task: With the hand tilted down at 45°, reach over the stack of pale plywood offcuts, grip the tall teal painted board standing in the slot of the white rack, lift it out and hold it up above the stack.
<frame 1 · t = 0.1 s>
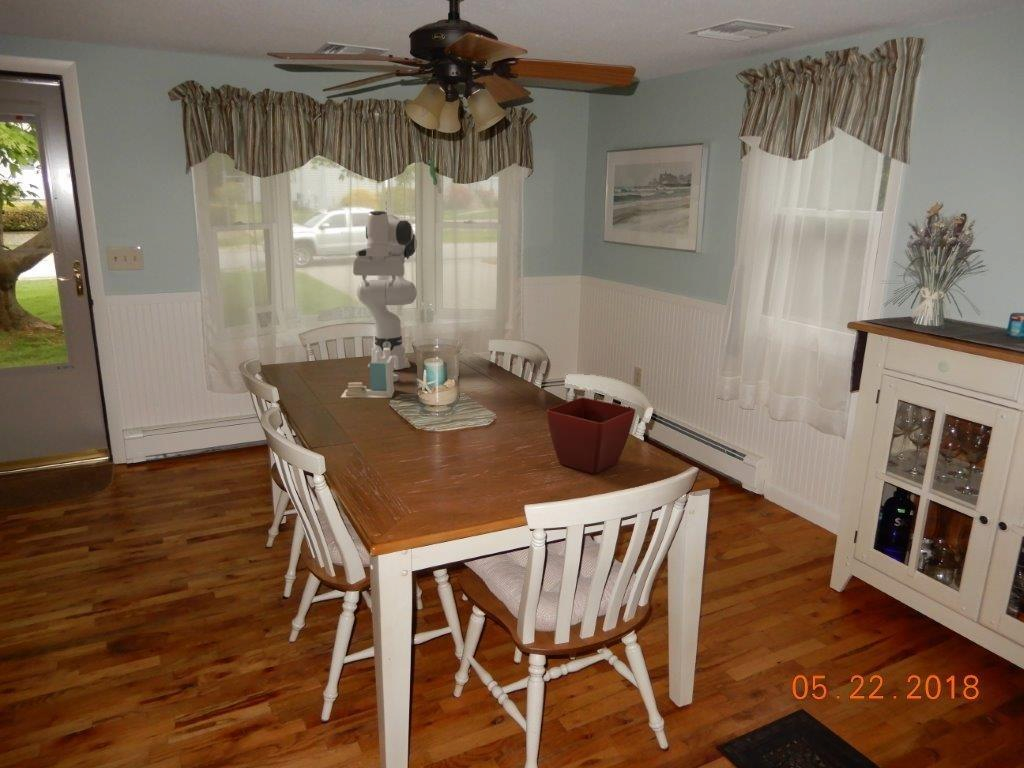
hand: (379, 287, 288), 39 cm above the table, tool pointing down, fingers open, 8 cm apart
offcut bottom: (356, 393, 273), point 1 cm above the table, touching offcut top, rack
plant pot: (588, 464, 211), on the table
offcut top: (355, 389, 272), point 3 cm above the table, touching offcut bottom
rack: (368, 397, 274), on the table
figurine: (387, 384, 293), on the table
tall board: (378, 393, 274), point 1 cm above the table, touching rack
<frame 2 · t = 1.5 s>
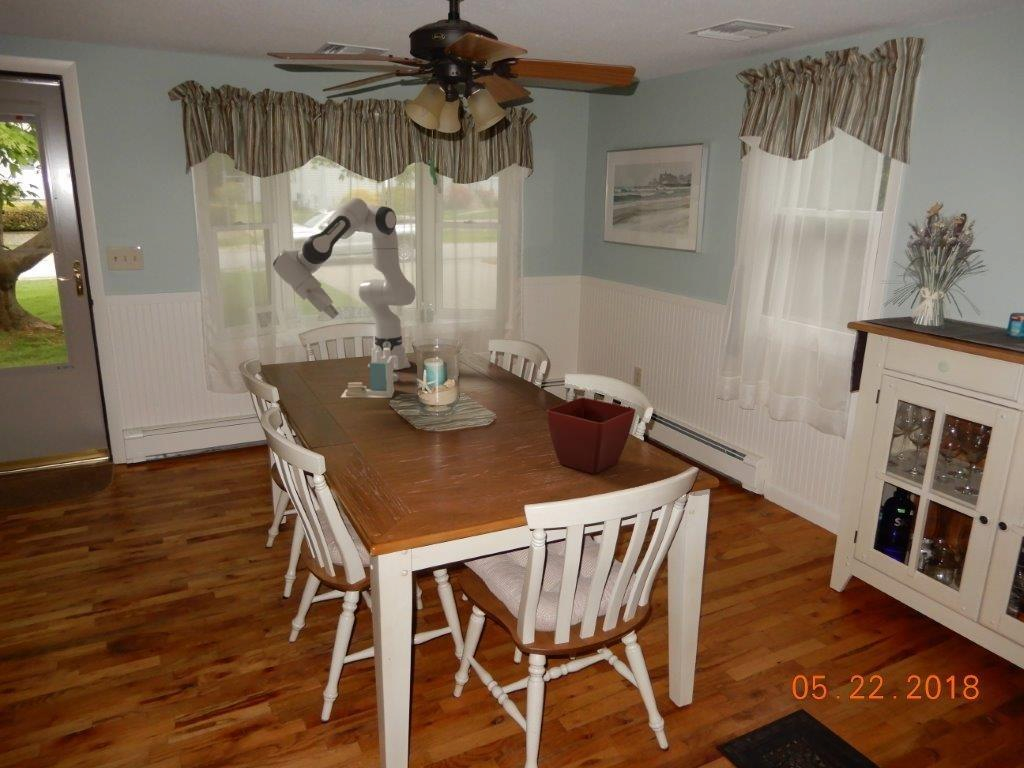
hand: (336, 316, 268), 31 cm above the table, tool tilted 45°, fingers open, 8 cm apart
nothing on the table moved.
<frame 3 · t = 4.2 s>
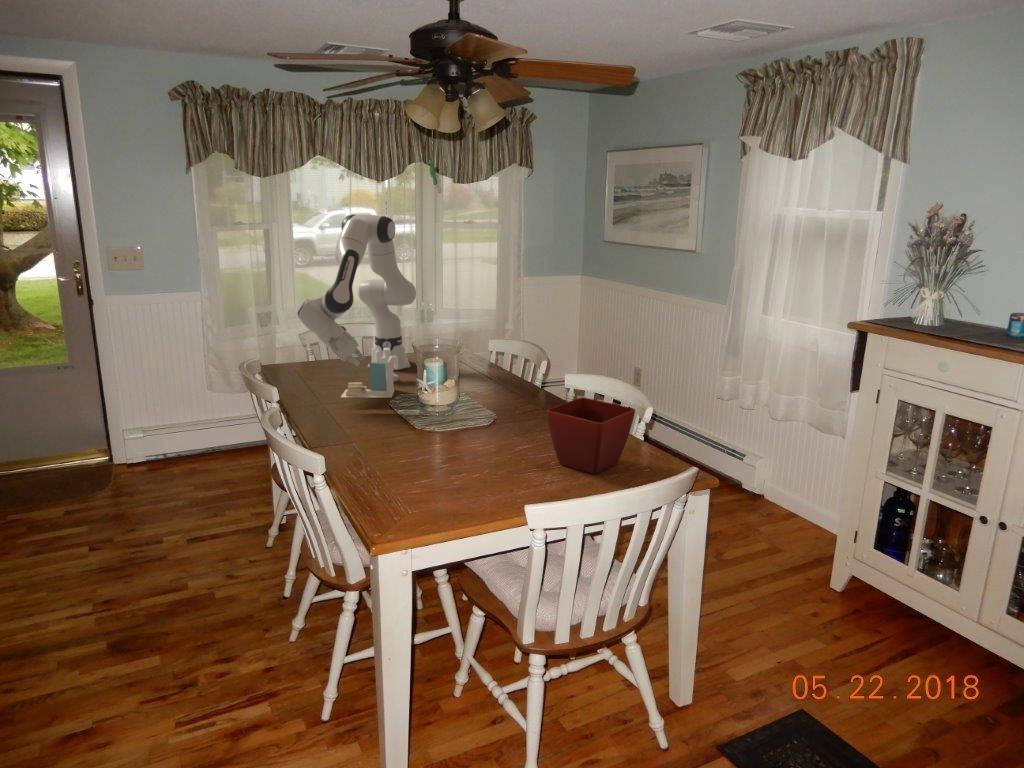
hand: (361, 361, 270), 14 cm above the table, tool tilted 45°, fingers open, 8 cm apart
nothing on the table moved.
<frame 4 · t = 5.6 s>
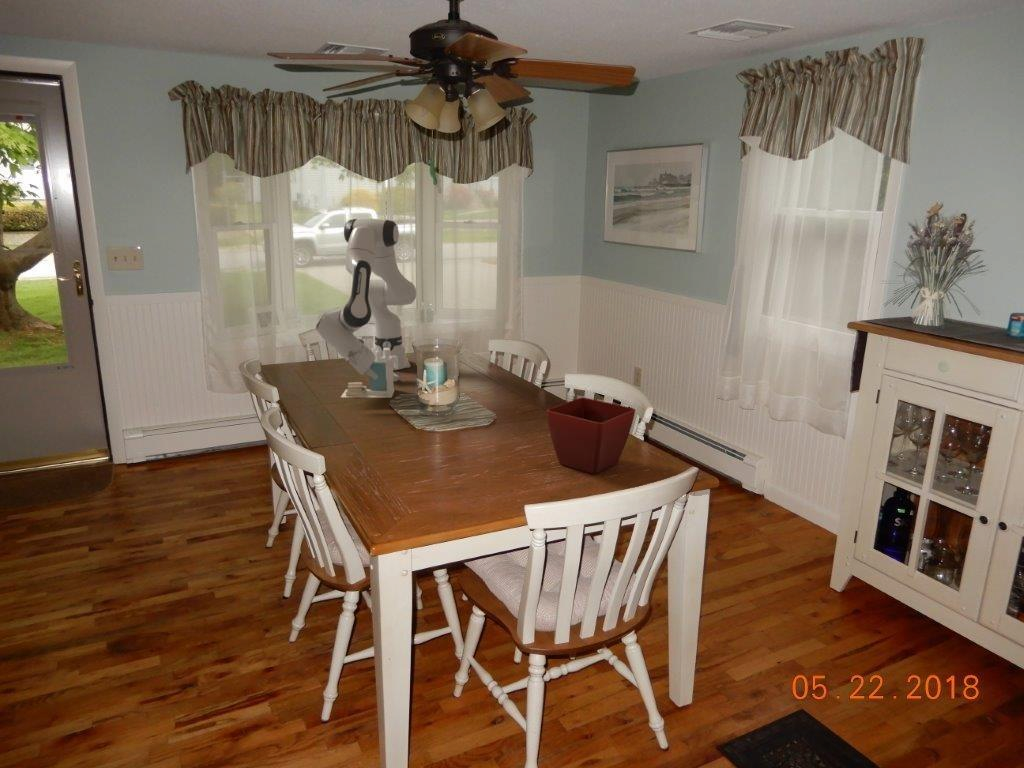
hand: (378, 374, 272), 9 cm above the table, tool tilted 45°, fingers open, 8 cm apart
nothing on the table moved.
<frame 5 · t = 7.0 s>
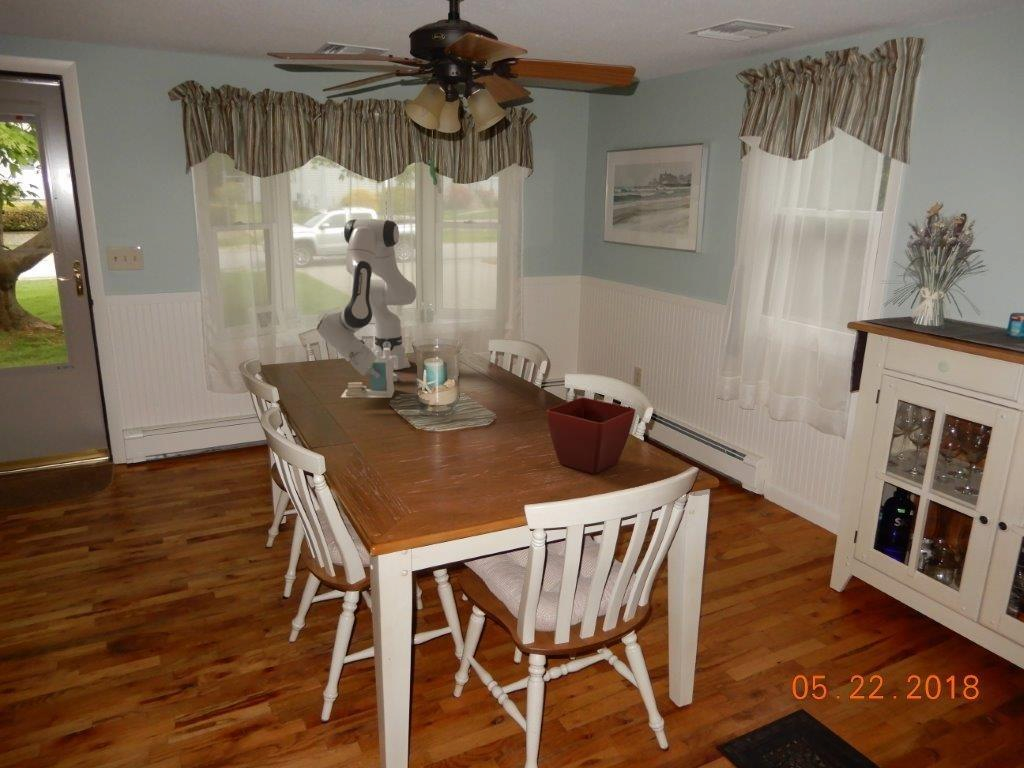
hand: (379, 375, 272), 9 cm above the table, tool tilted 45°, fingers closed on tall board, 2 cm apart
tall board: (378, 393, 274), point 1 cm above the table, touching gripper, rack
everything else where it was.
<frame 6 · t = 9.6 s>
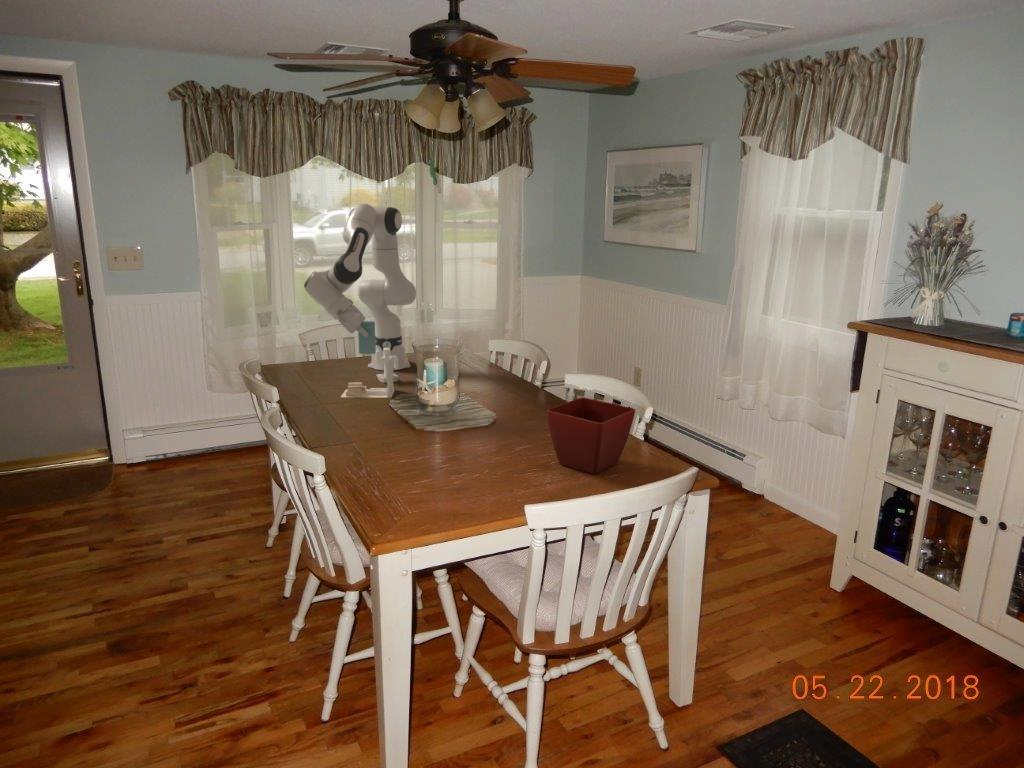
hand: (368, 334, 268), 24 cm above the table, tool tilted 45°, fingers closed on tall board
tall board: (367, 353, 270), point 17 cm above the table, touching gripper
everything else where it was.
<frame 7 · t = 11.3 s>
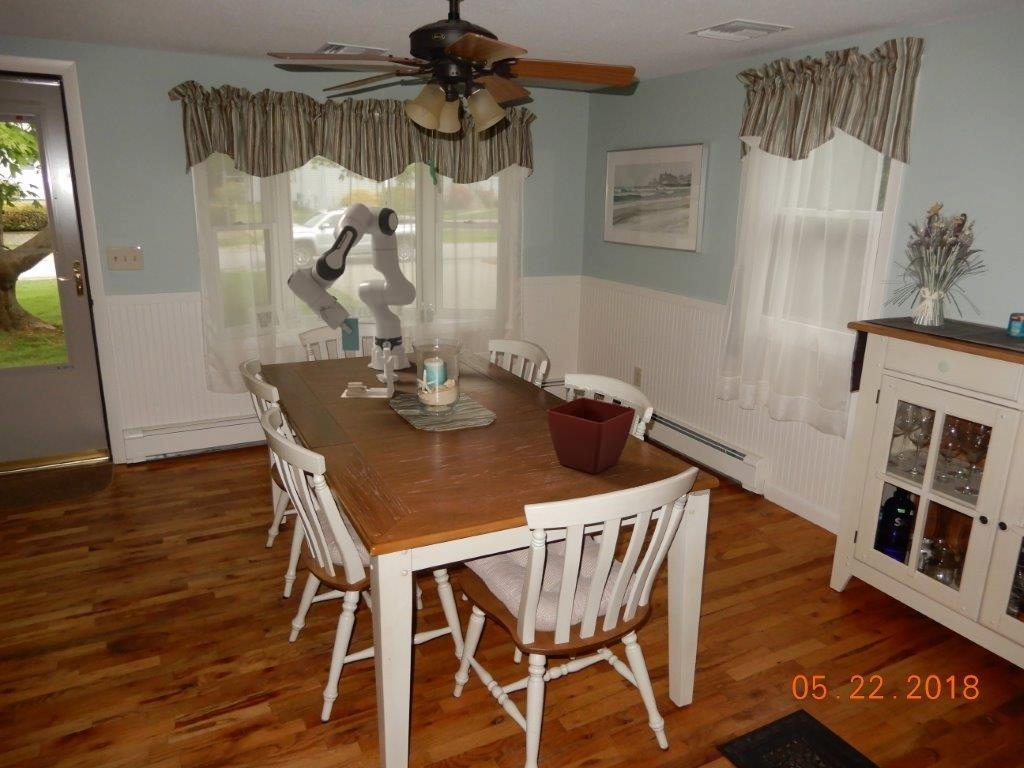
hand: (351, 331, 268), 25 cm above the table, tool tilted 45°, fingers closed on tall board
tall board: (351, 349, 270), point 18 cm above the table, touching gripper
everything else where it was.
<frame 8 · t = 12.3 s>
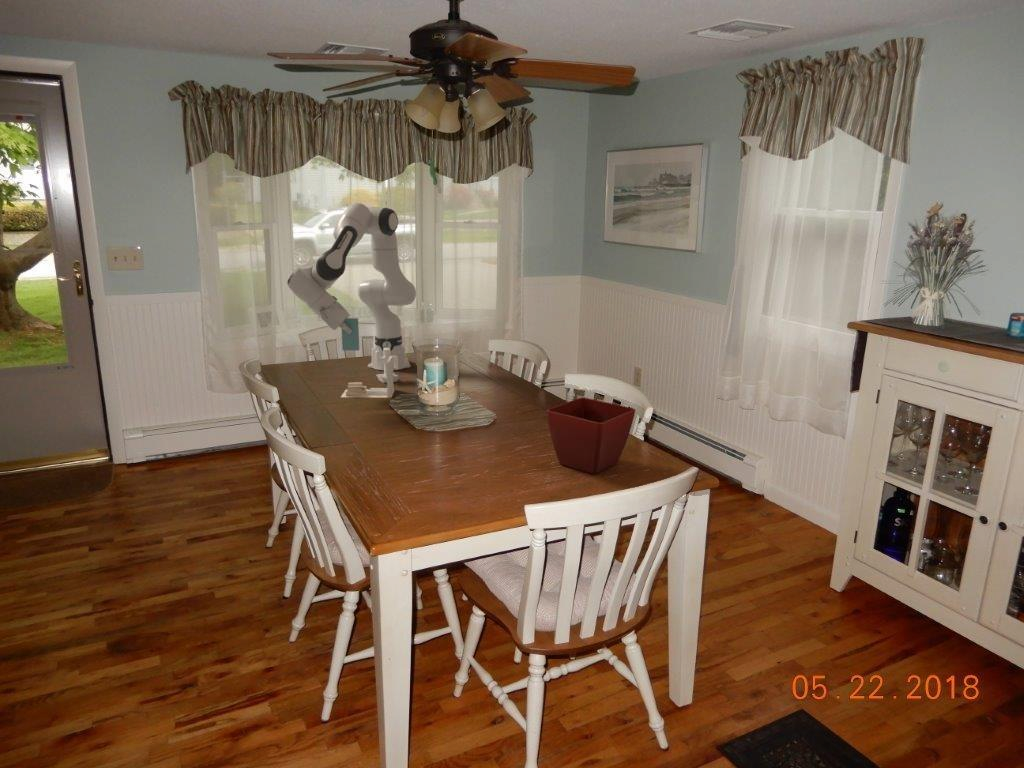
hand: (351, 331, 268), 25 cm above the table, tool tilted 45°, fingers closed on tall board
tall board: (351, 349, 270), point 18 cm above the table, touching gripper
everything else where it was.
at the end: the gripper is holding tall board; tall board point 18.3 cm above the table; offcut top moved 0.0 cm from its start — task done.
